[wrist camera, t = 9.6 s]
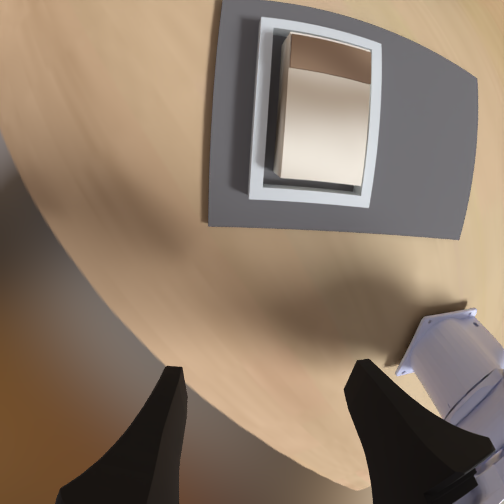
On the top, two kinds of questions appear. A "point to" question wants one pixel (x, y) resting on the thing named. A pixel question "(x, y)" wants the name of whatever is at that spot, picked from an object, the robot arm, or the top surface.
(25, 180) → the top surface
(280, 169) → the brown banded block
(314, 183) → the rubber mat
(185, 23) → the top surface
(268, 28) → the frame
